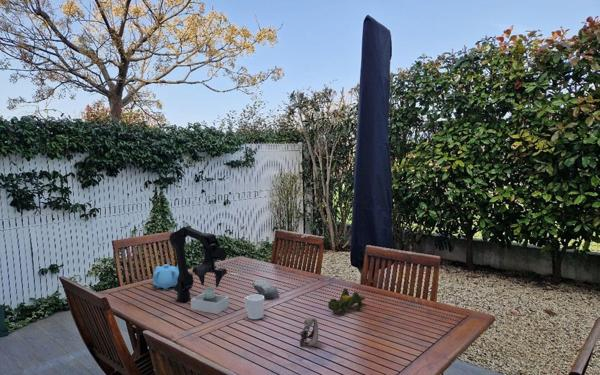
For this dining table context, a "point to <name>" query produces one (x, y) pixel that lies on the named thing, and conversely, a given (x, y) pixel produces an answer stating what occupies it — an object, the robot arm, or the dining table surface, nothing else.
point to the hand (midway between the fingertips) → (209, 286)
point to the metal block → (210, 299)
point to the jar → (209, 292)
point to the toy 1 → (314, 333)
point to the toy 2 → (345, 302)
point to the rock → (265, 289)
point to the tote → (210, 304)
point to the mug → (255, 306)
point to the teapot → (165, 276)
